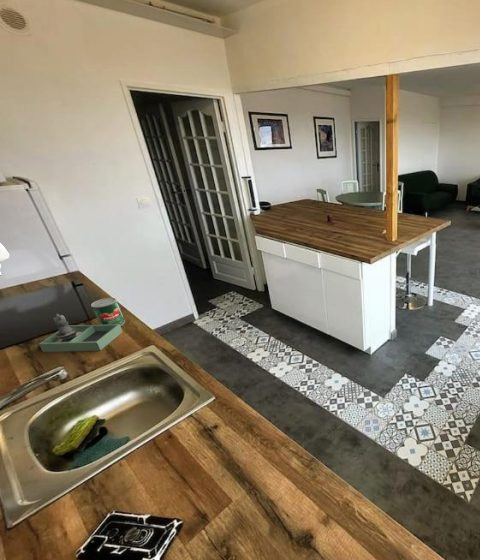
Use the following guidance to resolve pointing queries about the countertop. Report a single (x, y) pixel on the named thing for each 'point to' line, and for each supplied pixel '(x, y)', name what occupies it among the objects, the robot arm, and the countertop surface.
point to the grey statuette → (64, 329)
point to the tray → (83, 338)
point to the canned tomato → (108, 311)
